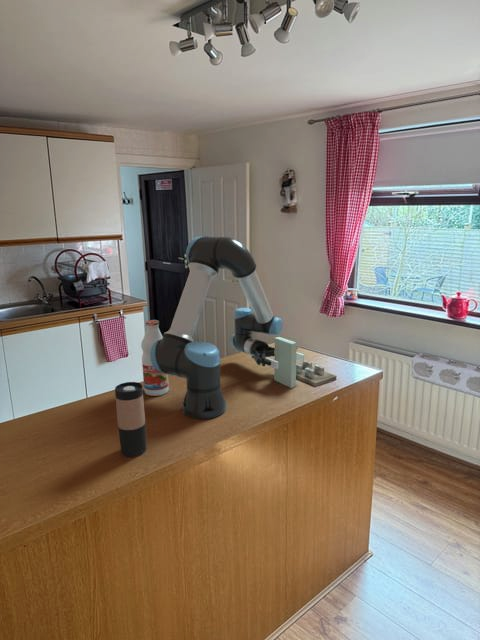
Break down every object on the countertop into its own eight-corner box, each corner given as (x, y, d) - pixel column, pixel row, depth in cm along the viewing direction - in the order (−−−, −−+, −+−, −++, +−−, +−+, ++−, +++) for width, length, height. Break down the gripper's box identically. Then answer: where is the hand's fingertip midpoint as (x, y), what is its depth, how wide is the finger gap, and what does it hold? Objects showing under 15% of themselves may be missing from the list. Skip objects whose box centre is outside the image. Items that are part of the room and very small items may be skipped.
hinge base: (281, 372, 186) (281, 362, 185) (301, 366, 193) (302, 356, 192) (315, 386, 171) (315, 375, 169) (336, 379, 177) (336, 369, 176)
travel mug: (115, 450, 127) (109, 387, 122) (138, 441, 132) (133, 379, 127) (129, 461, 122) (123, 394, 117) (152, 450, 127) (147, 386, 122)
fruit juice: (172, 387, 172) (168, 318, 165) (163, 397, 163) (159, 325, 156) (150, 385, 174) (145, 317, 167) (140, 395, 165) (134, 324, 158)
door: (272, 379, 178) (273, 337, 174) (279, 377, 181) (280, 335, 176) (291, 387, 170) (291, 343, 165) (298, 385, 172) (298, 342, 167)
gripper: (278, 351, 194) (313, 363, 178) (233, 362, 180) (265, 378, 163) (278, 334, 192) (313, 346, 176) (232, 345, 178) (265, 359, 162)
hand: (290, 361), depth 170 cm, fingers open, 13 cm apart
